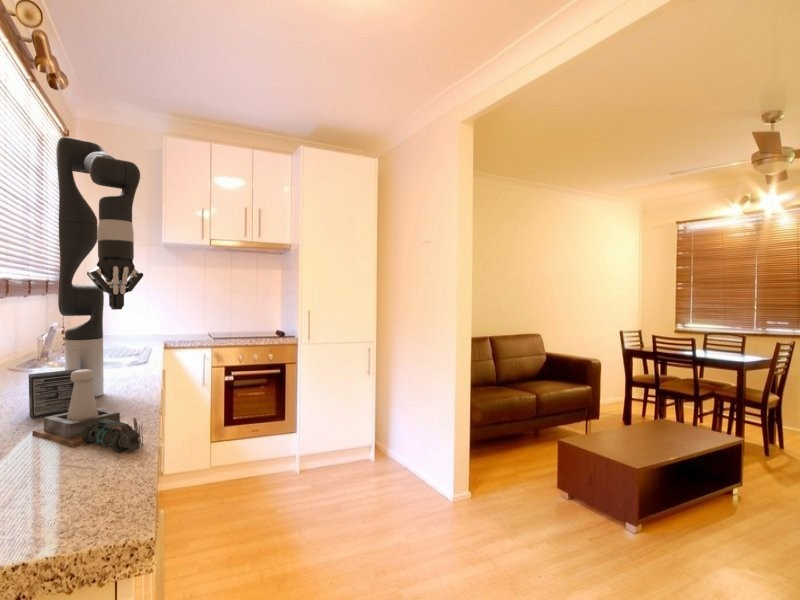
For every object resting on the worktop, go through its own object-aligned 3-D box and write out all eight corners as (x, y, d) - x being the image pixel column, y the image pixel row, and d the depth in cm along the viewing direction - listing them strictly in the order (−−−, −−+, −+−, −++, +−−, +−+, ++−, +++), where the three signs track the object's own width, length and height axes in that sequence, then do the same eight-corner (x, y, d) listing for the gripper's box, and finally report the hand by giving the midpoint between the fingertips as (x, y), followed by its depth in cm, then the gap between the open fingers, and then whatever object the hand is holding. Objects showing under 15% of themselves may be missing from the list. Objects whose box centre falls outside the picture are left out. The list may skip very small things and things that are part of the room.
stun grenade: (81, 448, 91) (122, 460, 84) (78, 418, 90) (119, 428, 84) (112, 436, 96) (153, 447, 90) (109, 408, 96) (150, 417, 89)
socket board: (32, 435, 97) (32, 416, 97) (91, 420, 107) (91, 404, 107) (72, 447, 89) (72, 427, 89) (131, 430, 100) (131, 413, 100)
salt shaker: (81, 433, 95) (81, 373, 95) (59, 431, 96) (59, 371, 96) (104, 425, 101) (104, 368, 100) (83, 423, 102) (83, 367, 102)
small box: (79, 406, 121) (78, 368, 120) (83, 411, 116) (83, 371, 116) (28, 413, 113) (28, 373, 113) (31, 419, 109) (30, 376, 108)
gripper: (133, 243, 118) (133, 308, 118) (78, 237, 106) (79, 310, 106) (151, 241, 114) (151, 308, 114) (96, 236, 102) (97, 310, 103)
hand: (116, 309), depth 110 cm, fingers closed
